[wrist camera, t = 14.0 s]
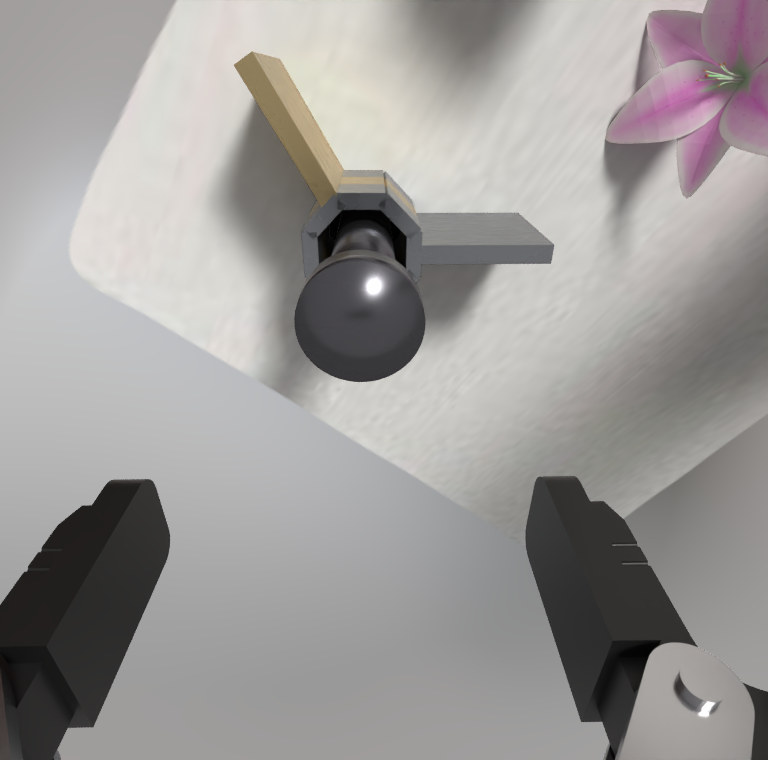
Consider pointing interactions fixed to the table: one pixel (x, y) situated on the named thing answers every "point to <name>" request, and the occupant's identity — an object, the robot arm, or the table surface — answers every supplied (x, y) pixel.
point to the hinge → (379, 193)
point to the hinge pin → (360, 304)
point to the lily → (703, 87)
